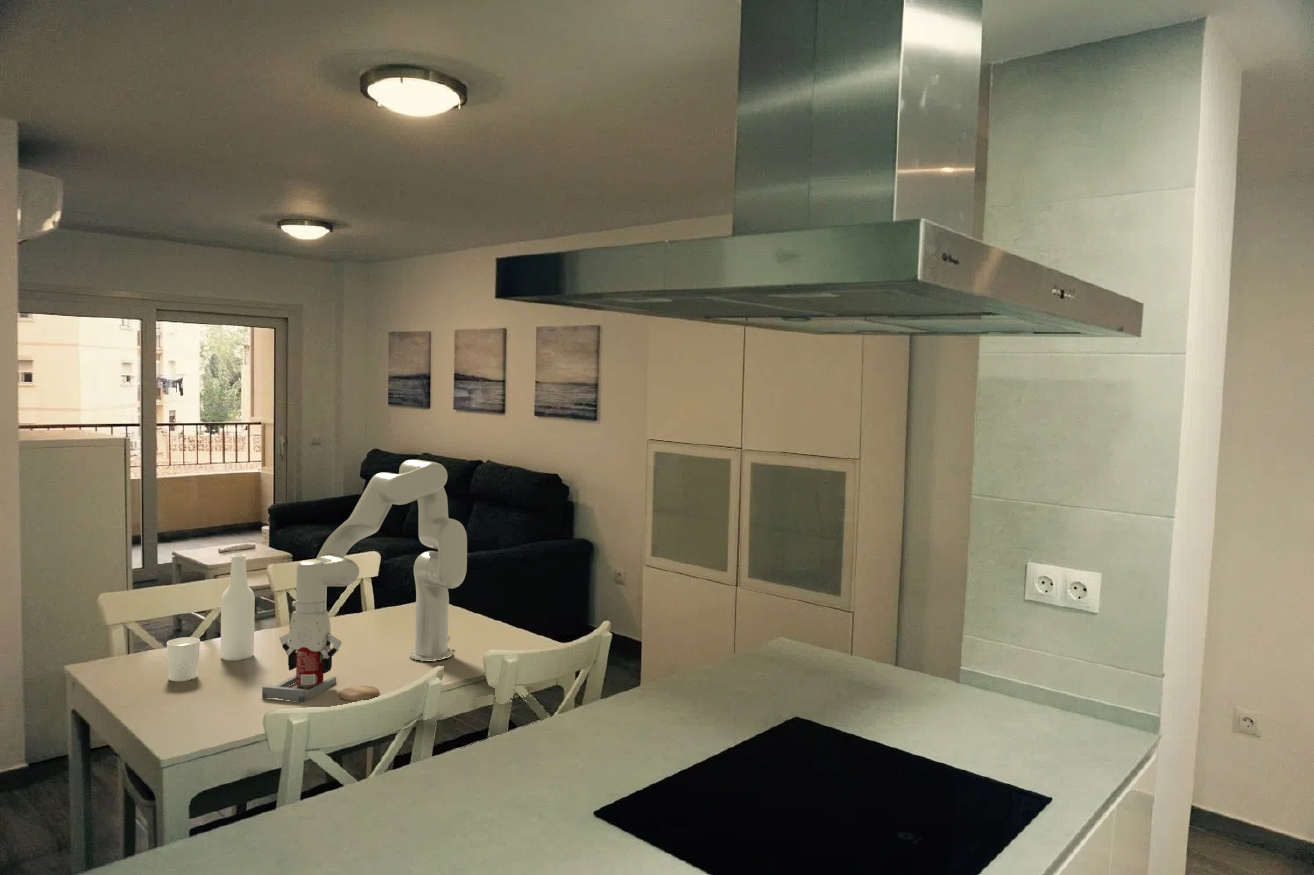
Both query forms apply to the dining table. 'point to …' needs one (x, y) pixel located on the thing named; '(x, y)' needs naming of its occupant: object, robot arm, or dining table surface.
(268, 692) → the u-shaped frame
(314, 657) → the soda can
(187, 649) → the white cup
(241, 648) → the alcohol
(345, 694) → the coaster
